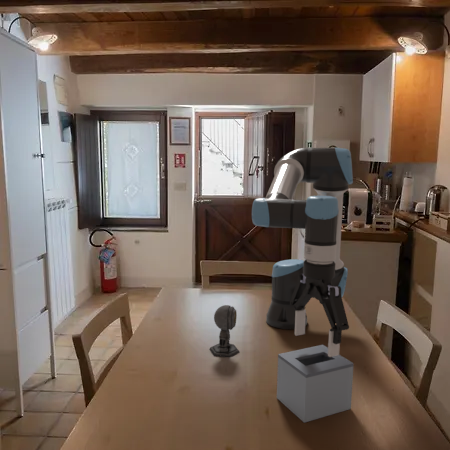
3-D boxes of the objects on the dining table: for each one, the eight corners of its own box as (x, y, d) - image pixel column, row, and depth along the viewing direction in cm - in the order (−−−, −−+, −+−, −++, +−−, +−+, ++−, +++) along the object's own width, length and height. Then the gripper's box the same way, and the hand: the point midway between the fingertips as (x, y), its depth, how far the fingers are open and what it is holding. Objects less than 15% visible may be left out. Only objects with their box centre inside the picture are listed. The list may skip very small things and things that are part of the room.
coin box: (320, 386, 124) (322, 344, 122) (350, 408, 113) (353, 363, 111) (276, 397, 118) (278, 354, 116) (304, 422, 107) (306, 374, 105)
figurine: (237, 358, 140) (238, 311, 138) (206, 355, 142) (206, 309, 140) (242, 346, 149) (242, 302, 146) (212, 344, 151) (212, 300, 148)
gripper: (278, 251, 119) (275, 329, 123) (341, 274, 97) (336, 368, 100) (302, 249, 123) (299, 324, 126) (368, 271, 100) (362, 362, 104)
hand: (315, 344), depth 113 cm, fingers open, 13 cm apart
